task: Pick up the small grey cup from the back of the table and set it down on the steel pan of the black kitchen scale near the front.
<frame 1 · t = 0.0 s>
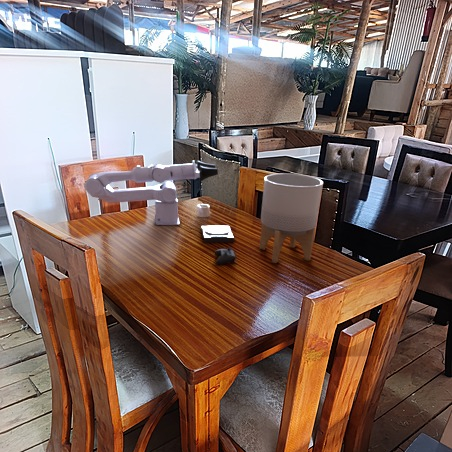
hand: (216, 169, 158), 22 cm above the table, tool horizontal, fingers open, 7 cm apart
planter: (284, 254, 142), on the table
small grey cup: (203, 215, 176), on the table
gaming controller: (224, 261, 135), on the table
scale: (217, 236, 154), on the table
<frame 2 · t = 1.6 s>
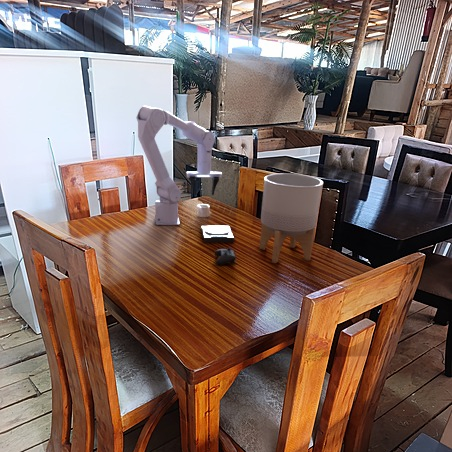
hand: (203, 194, 172), 9 cm above the table, tool pointing down, fingers open, 7 cm apart
nothing on the table moved.
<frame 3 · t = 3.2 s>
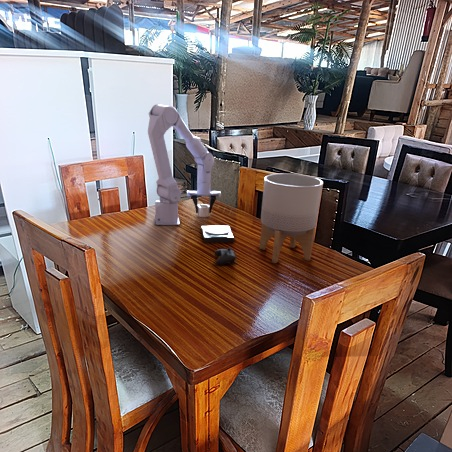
hand: (203, 212, 175), 1 cm above the table, tool pointing down, fingers closed on small grey cup, 5 cm apart
small grey cup: (203, 215, 176), on the table, touching gripper
everything else where it was.
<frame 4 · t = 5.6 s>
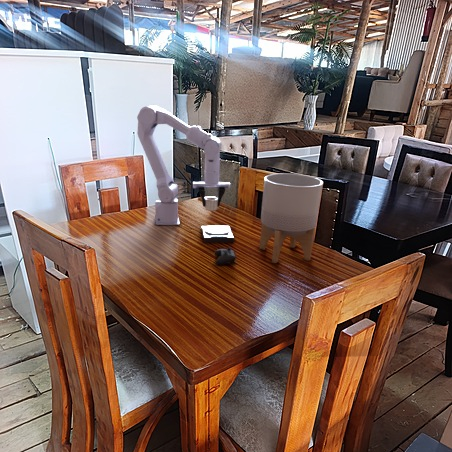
hand: (211, 206, 160), 8 cm above the table, tool pointing down, fingers closed on small grey cup, 5 cm apart
small grey cup: (210, 209, 161), point 7 cm above the table, touching gripper
everything else where it was.
when the fingers open (4 cm above the table, at t = 8.1 s): small grey cup stays where it is, resting on scale.
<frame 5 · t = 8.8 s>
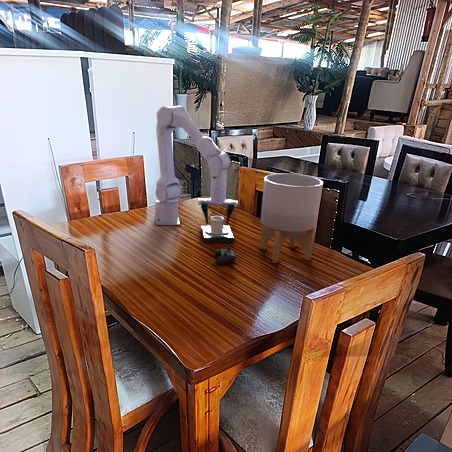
hand: (217, 223, 153), 5 cm above the table, tool pointing down, fingers open, 7 cm apart
small grey cup: (216, 229, 154), point 2 cm above the table, touching scale
everything else where it was.
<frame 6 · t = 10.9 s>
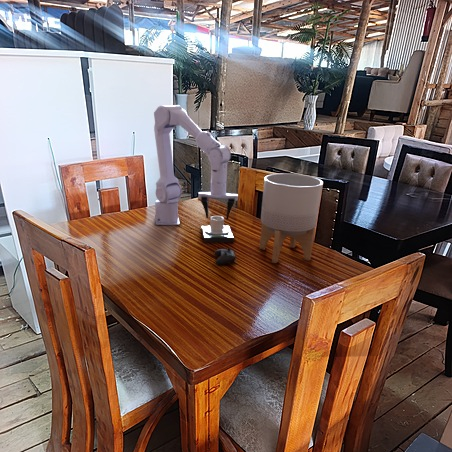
hand: (217, 218, 152), 7 cm above the table, tool pointing down, fingers open, 7 cm apart
nothing on the table moved.
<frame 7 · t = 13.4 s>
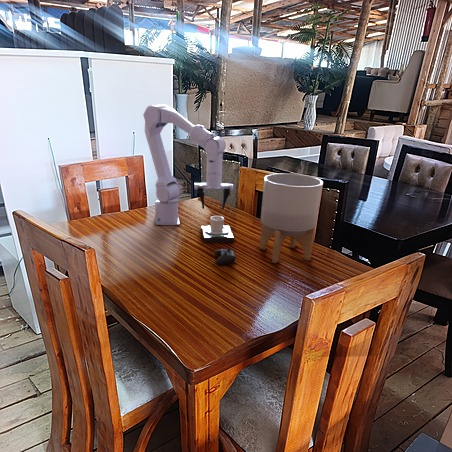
hand: (213, 208, 155), 9 cm above the table, tool pointing down, fingers open, 7 cm apart
nothing on the table moved.
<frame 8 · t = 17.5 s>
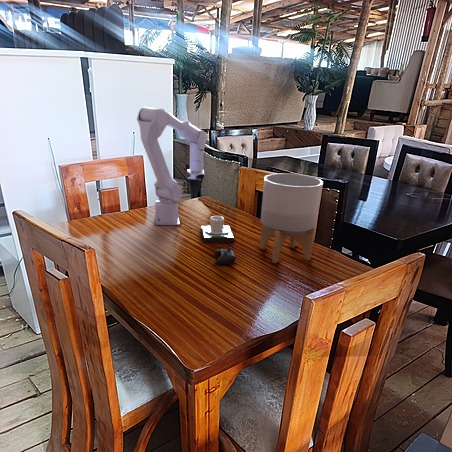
hand: (196, 192, 174), 9 cm above the table, tool pointing down, fingers open, 7 cm apart
nothing on the table moved.
at the end: small grey cup 0.0 cm from the target spot on the scale, point 2.5 cm above the scale's base; small grey cup tilted 0°; the gripper is holding nothing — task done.
